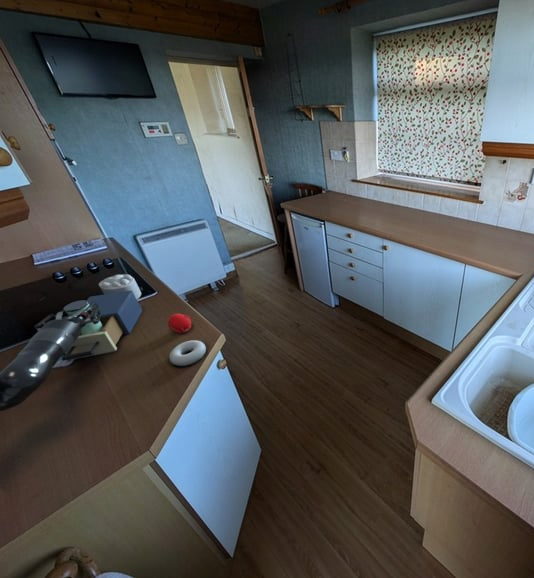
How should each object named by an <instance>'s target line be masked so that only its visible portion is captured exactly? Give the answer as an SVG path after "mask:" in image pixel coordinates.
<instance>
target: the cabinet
mask: <svg viewBox="0 0 534 578" xmlns="http://www.w3.org/2000/svg"><path fill="white" fill-rule="evenodd" d="M86 301H88V303H89V305H90V304H91V302H96V303H97V304H98V306H99V308H98V309H99V311H100V312H101V313H102V315H101V317H107V316H113V315H116V317H117V318H118V320H119V322H120V324H121V325H122V327H123V329H124V331H123V333H122V335H121V336H125V335H130V334H131V333H132V330H133V329H134V327H135V325H136V324H137V321H138V320H139V318H140V316H141V314H142V312H143V309H142V307H141V305H140V303H139V301H138V299H136V297H135V295H134V293H133V291H125V292H118V293H112V294H105V295H104V294H99V295H93V296H88V298H87V300H86Z"/></svg>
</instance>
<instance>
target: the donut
mask: <svg viewBox="0 0 534 578" xmlns="http://www.w3.org/2000/svg"><path fill="white" fill-rule="evenodd" d="M206 351H207V347H206V345H205V343H204V342H203V341H201V340H196V339H195V340H192V339H191V340H187V341H184V342H181V343H179V344H177V345H176V346H175V347H173V349H172V350H171V351H170V353H169V361H170V363H171V364H173V365H174V366H178V367H186V366H190V365H192V364H194V363H196V362H198V361H199V360H200V359H202V358H203V357H204V356H205V354H206ZM188 352H189V353H188Z"/></svg>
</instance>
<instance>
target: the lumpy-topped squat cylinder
mask: <svg viewBox="0 0 534 578" xmlns="http://www.w3.org/2000/svg"><path fill="white" fill-rule="evenodd" d="M98 286H99V288H100V290H101V292H102V293H103V295H105V294H112V293H118V292H125V291H133V293H134V295H135V297H136V299H137V300H138V299H140V297H141V296H142V292H141V290H140V287H139V286H138V283H137V282H136V280H135V278H134V277H133V276H131V274H126V273H125V274H124V273H123V274H115V275H112V276H110V277H109V276H108V277H106V278H104V279H103V280H101V281H100V282H99V283H98Z"/></svg>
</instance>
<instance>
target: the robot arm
mask: <svg viewBox="0 0 534 578" xmlns="http://www.w3.org/2000/svg"><path fill="white" fill-rule="evenodd" d="M98 308H99V306H98V304H97V303H96V302H91V304H90V305H89V306H88V307H87V309H85V310H84V311H79V312H77V313H76V314H74V315H73V316H68V314H67V313H66V312H65V310H64V308H63V309H62V310H61V311H59V312H57V313H56V314H53V313H51V314H49V315H46V317H44V318H43V319H42V320H40V321H39V322H38V323H37V324H35V325H34V328H35V330H36V331H37V332H36V333H35V334H34V335H33V336H32V337H31V338H30V339H29V341H28V342H27V344H26V345H25V346H24V347H23V348H22V349H21V350H20V351H19V352H18V353H17V355H16V356H15V357H14V359H13V360H12V361H11V362H10V363H9V364H8V365H7V366H6V367H4V368H3V369H2V370H1V371H0V412H2V411H6V410H10V409H12V408H14V407H16V406H19V405H21V404H22V403H23V402H25V401H26V400H27V399H28V398H29V397H30V396H31V395H32V394H33V393H34V392H35V391H36V390H38V389H39V388H40V387H41V386H42V384H43V383H44V382H45V381H46V379H47V378H48V377H49V375H50V373H51V371H52V370H53V368H54V366H56V364H57V363H58V361H59V360H60V359H62V356H64V355H66V352H67V351H68V349H69V348H70V347H71V345H72V344H73V343H74V342H75V340H76V339H77V338H78V336H79V335H80V332H81V328H82V327H84V326H85V325H86V324H87V323H92V322H93V324H97V323H99V320H100V318H101V315H102V313H101V312H100V311H99V309H98ZM87 312H88V313H89V315H87ZM80 315H81V316H82V317H81V316H80Z"/></svg>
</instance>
